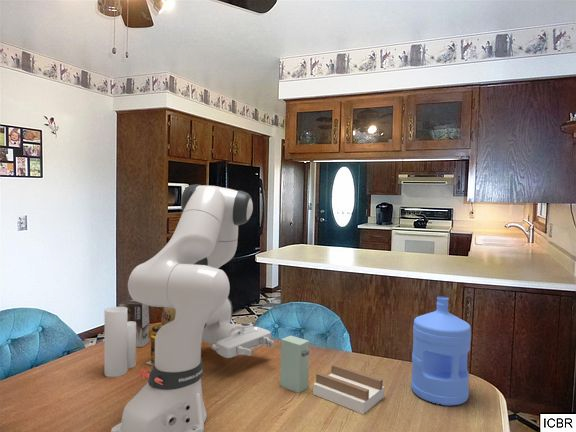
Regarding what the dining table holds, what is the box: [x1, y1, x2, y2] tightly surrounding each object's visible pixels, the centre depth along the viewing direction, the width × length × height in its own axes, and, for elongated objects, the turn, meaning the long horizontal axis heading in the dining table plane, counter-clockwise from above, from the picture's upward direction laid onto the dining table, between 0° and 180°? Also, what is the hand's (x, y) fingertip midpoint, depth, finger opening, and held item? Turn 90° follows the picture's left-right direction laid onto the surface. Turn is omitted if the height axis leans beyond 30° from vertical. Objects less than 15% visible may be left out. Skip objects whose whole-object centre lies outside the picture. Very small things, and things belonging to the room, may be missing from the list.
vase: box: [103, 306, 137, 378], centre depth 128 cm, size 11×7×20 cm, turn 174°
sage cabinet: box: [279, 335, 310, 394], centre depth 118 cm, size 4×8×14 cm, turn 51°
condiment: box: [146, 323, 164, 366], centre depth 135 cm, size 7×8×12 cm
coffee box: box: [118, 298, 151, 348], centre depth 150 cm, size 9×6×16 cm
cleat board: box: [312, 363, 385, 415], centre depth 114 cm, size 12×16×6 cm
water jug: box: [410, 296, 472, 406], centre depth 116 cm, size 16×16×28 cm
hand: (262, 348), depth 127 cm, fingers open, 8 cm apart
